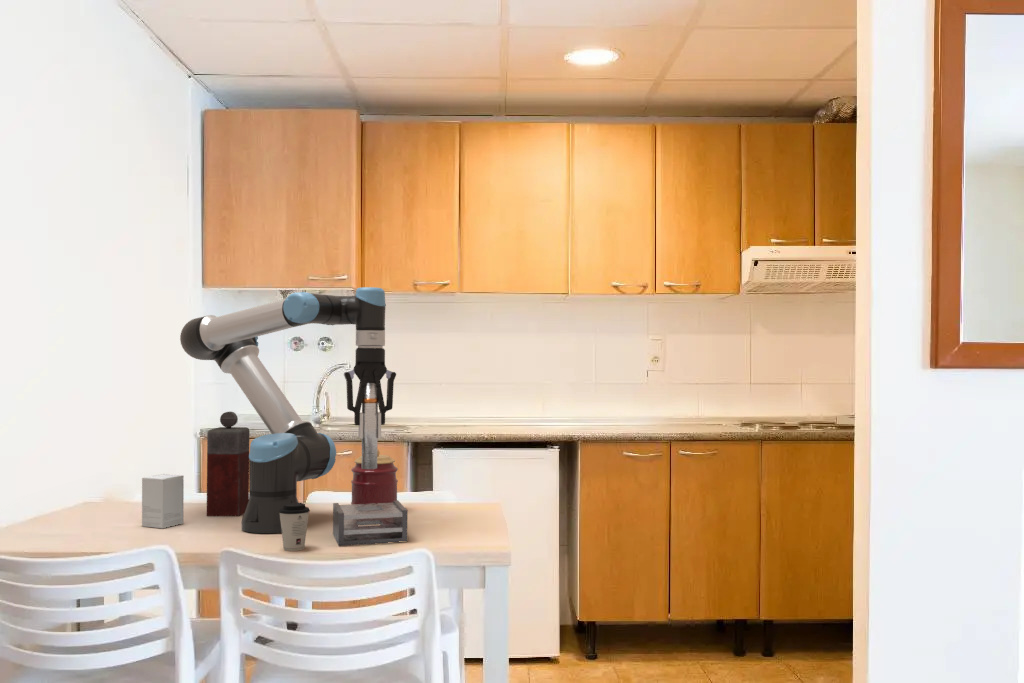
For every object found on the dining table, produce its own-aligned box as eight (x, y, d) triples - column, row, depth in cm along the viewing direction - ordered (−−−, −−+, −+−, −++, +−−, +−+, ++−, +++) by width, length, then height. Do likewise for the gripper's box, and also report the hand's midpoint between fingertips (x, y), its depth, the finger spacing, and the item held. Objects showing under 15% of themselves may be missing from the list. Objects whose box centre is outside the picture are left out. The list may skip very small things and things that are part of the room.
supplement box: (184, 523, 227) (184, 475, 227) (162, 529, 220) (162, 478, 220) (163, 521, 230) (163, 473, 230) (140, 526, 223) (141, 476, 224)
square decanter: (251, 508, 249) (252, 410, 249) (239, 516, 238) (239, 412, 238) (220, 508, 249) (221, 409, 249) (206, 516, 238) (207, 412, 238)
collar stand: (338, 545, 202) (338, 513, 203) (332, 533, 216) (333, 503, 216) (407, 542, 207) (407, 510, 207) (397, 530, 220) (397, 500, 221)
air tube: (362, 469, 224) (363, 383, 224) (360, 467, 228) (360, 382, 228) (378, 468, 225) (379, 383, 225) (376, 466, 229) (376, 382, 229)
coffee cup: (307, 551, 196) (307, 507, 197) (275, 552, 196) (275, 507, 196) (311, 545, 203) (312, 501, 203) (281, 545, 203) (281, 502, 203)
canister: (383, 505, 256) (383, 444, 256) (406, 512, 246) (406, 448, 246) (342, 510, 248) (343, 447, 248) (364, 517, 238) (365, 452, 238)
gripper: (338, 347, 220) (338, 440, 220) (405, 347, 226) (405, 438, 226) (335, 347, 228) (334, 437, 227) (400, 347, 233) (399, 435, 233)
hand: (369, 437), depth 226 cm, fingers closed on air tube, 4 cm apart
